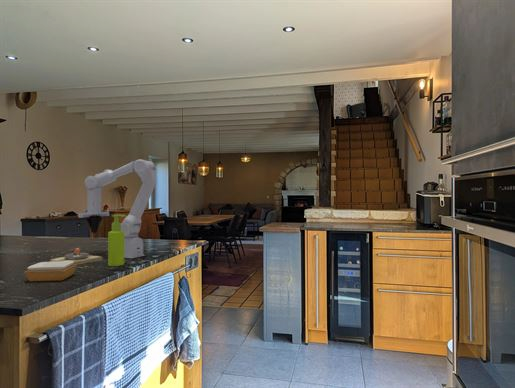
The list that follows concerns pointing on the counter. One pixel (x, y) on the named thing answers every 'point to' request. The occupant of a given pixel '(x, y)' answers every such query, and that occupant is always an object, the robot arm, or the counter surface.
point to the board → (78, 261)
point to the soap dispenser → (116, 243)
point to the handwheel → (76, 255)
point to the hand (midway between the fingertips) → (94, 232)
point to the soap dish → (50, 271)
